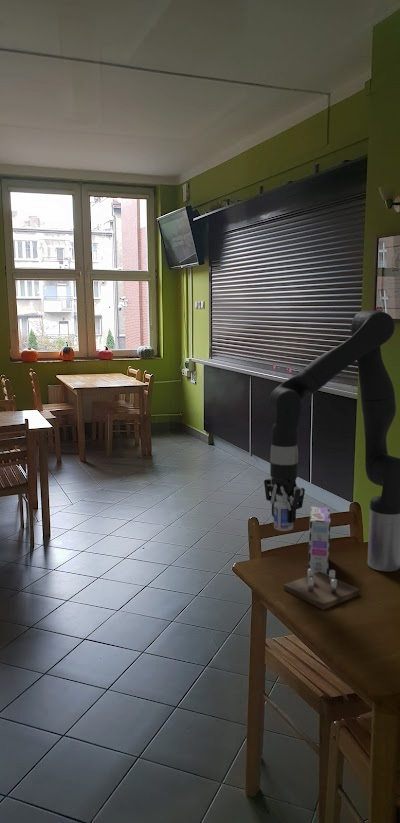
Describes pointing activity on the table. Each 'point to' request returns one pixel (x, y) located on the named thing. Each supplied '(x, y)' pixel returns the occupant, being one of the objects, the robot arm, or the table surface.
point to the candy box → (319, 539)
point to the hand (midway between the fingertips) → (283, 519)
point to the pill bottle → (281, 514)
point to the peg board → (321, 591)
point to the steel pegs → (331, 581)
